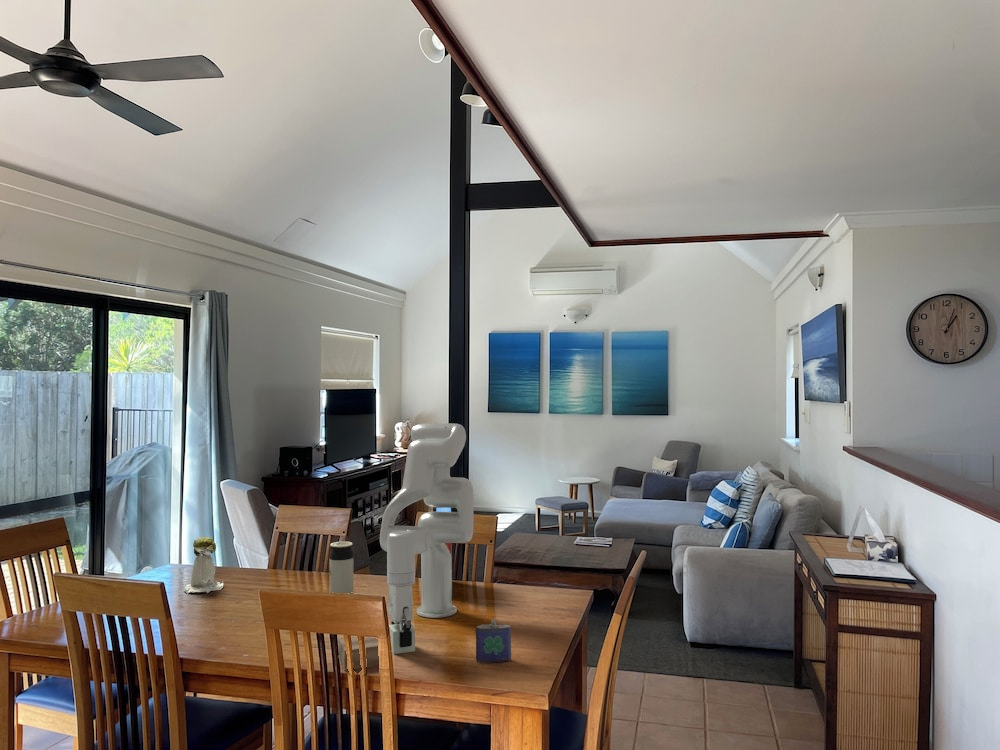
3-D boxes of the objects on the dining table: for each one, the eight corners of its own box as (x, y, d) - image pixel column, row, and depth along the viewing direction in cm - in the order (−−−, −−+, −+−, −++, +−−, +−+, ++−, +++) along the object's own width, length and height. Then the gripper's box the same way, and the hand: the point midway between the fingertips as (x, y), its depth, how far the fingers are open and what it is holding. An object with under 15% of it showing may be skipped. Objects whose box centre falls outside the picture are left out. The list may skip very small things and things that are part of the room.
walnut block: (338, 657, 196) (338, 638, 196) (376, 652, 200) (376, 633, 200) (344, 670, 187) (344, 650, 187) (384, 665, 190) (383, 645, 190)
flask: (510, 658, 194) (510, 617, 194) (512, 662, 191) (511, 620, 192) (475, 659, 193) (475, 618, 194) (476, 664, 191) (475, 622, 191)
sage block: (388, 647, 204) (388, 625, 204) (409, 644, 206) (409, 622, 206) (393, 654, 198) (393, 631, 198) (415, 651, 200) (415, 628, 200)
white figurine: (176, 591, 262) (176, 539, 262) (206, 582, 273) (206, 532, 273) (199, 596, 256) (199, 542, 256) (229, 586, 267) (228, 535, 267)
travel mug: (356, 593, 257) (356, 541, 258) (349, 600, 249) (349, 546, 250) (334, 593, 258) (333, 541, 258) (326, 599, 250) (326, 545, 250)
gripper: (380, 571, 209) (381, 633, 209) (394, 586, 193) (394, 653, 192) (406, 569, 212) (407, 630, 211) (422, 583, 196) (423, 649, 195)
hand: (401, 640), depth 202 cm, fingers open, 9 cm apart
